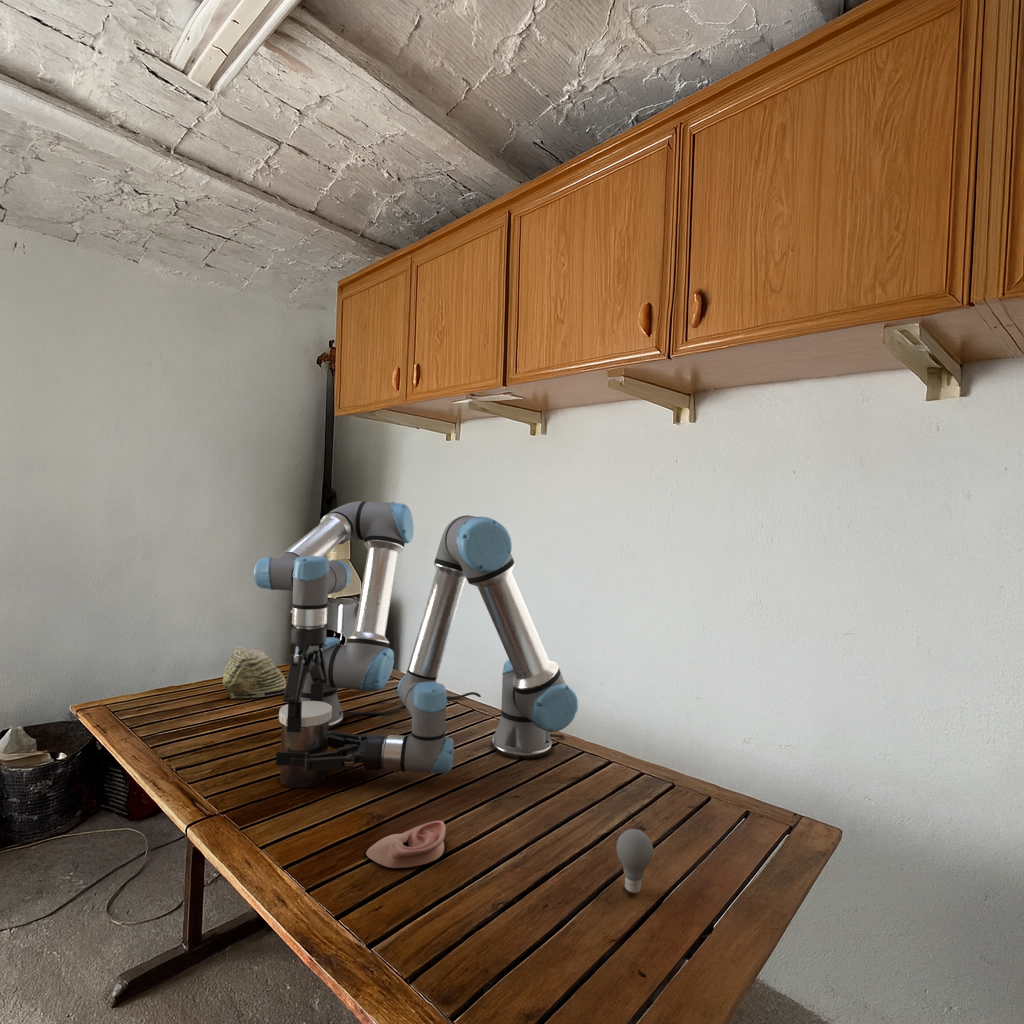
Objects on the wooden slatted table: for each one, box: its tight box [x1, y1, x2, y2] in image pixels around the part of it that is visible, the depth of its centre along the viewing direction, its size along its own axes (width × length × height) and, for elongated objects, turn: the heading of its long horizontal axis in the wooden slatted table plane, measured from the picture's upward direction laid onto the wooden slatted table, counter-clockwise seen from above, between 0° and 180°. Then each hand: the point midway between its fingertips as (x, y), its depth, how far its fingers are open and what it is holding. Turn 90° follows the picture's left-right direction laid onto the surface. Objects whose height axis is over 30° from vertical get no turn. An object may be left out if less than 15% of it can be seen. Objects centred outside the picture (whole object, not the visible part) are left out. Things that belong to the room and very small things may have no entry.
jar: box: [279, 721, 330, 789], centre depth 142 cm, size 10×10×15 cm
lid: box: [278, 701, 332, 727], centre depth 142 cm, size 11×11×2 cm
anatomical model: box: [365, 820, 447, 869], centre depth 114 cm, size 13×4×12 cm
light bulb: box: [615, 828, 654, 894], centre depth 106 cm, size 6×6×10 cm
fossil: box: [222, 646, 287, 699], centre depth 198 cm, size 9×18×15 cm, turn 132°
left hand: (305, 721), depth 142 cm, fingers open, 12 cm apart
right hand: (285, 748), depth 142 cm, fingers closed on jar, 10 cm apart
